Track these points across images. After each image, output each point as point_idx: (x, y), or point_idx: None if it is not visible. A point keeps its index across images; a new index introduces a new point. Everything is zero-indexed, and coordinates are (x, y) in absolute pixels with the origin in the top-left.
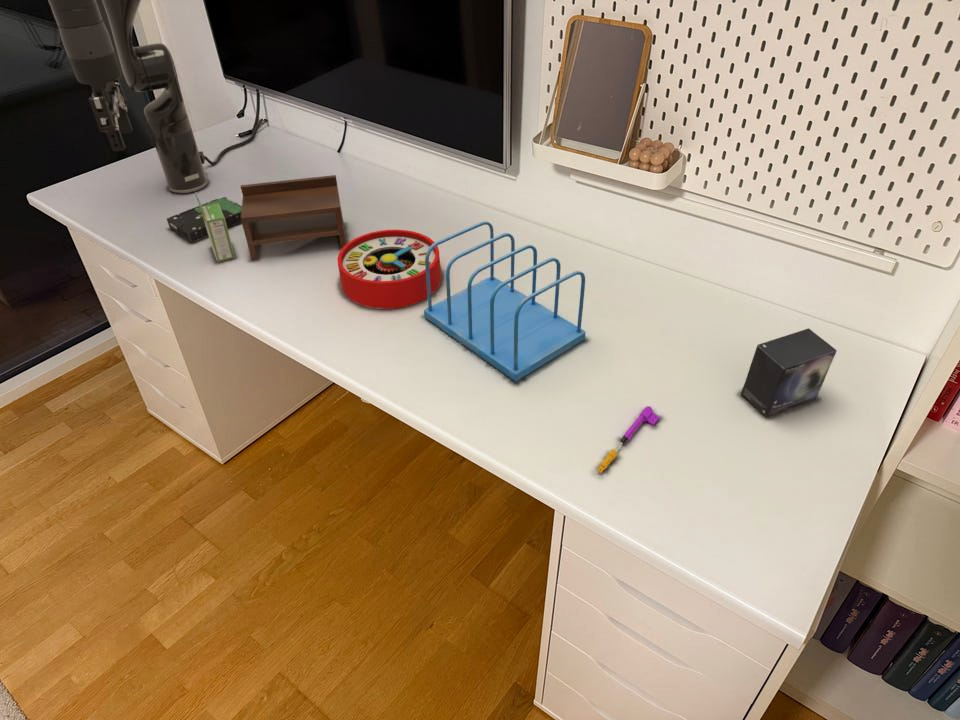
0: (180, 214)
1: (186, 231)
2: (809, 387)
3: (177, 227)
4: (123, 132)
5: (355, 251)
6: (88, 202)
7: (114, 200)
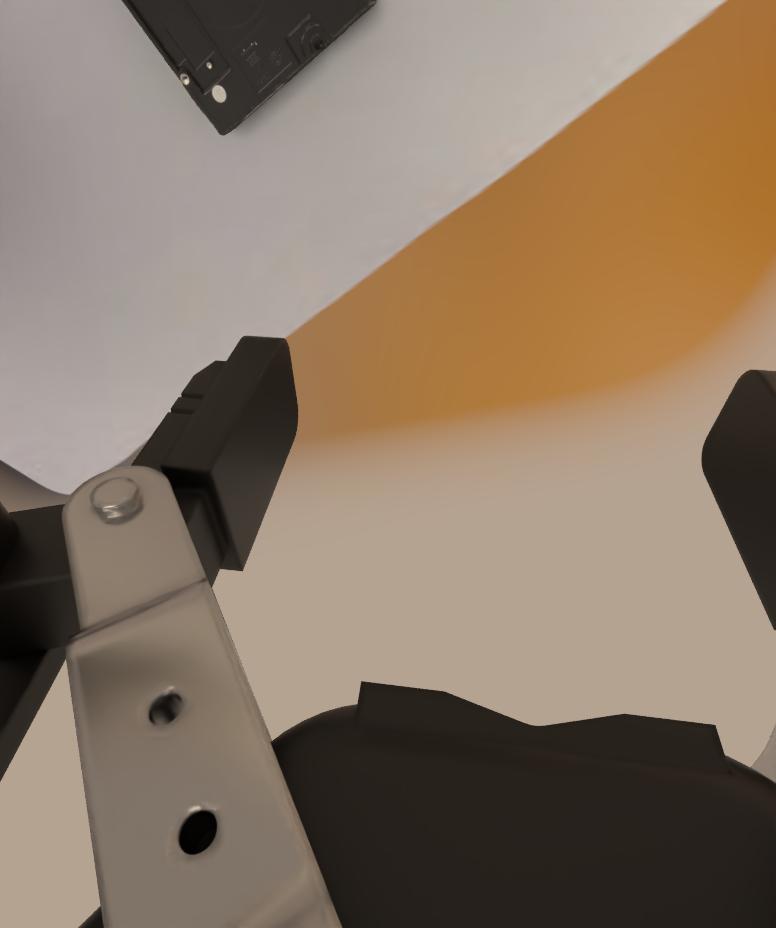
0: (183, 70)
1: (349, 17)
2: None
3: (291, 76)
4: (294, 410)
5: None
6: (78, 397)
7: (54, 337)
